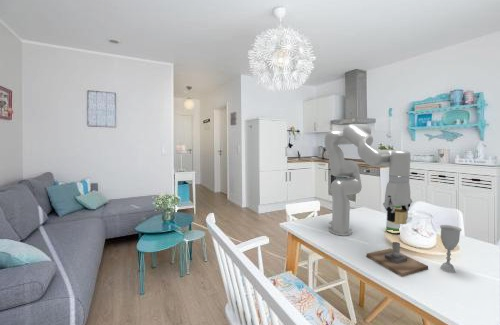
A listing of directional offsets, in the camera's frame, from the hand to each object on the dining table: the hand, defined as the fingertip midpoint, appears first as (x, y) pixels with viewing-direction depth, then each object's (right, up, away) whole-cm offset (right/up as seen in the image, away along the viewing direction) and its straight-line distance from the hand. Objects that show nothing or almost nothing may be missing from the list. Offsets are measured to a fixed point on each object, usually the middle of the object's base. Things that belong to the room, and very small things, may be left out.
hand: (397, 219), depth 107 cm
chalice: (+19, -20, -4) cm, 28 cm away
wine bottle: (+20, -16, +36) cm, 44 cm away
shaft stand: (0, -20, +2) cm, 20 cm away
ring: (0, -1, 0) cm, 1 cm away
